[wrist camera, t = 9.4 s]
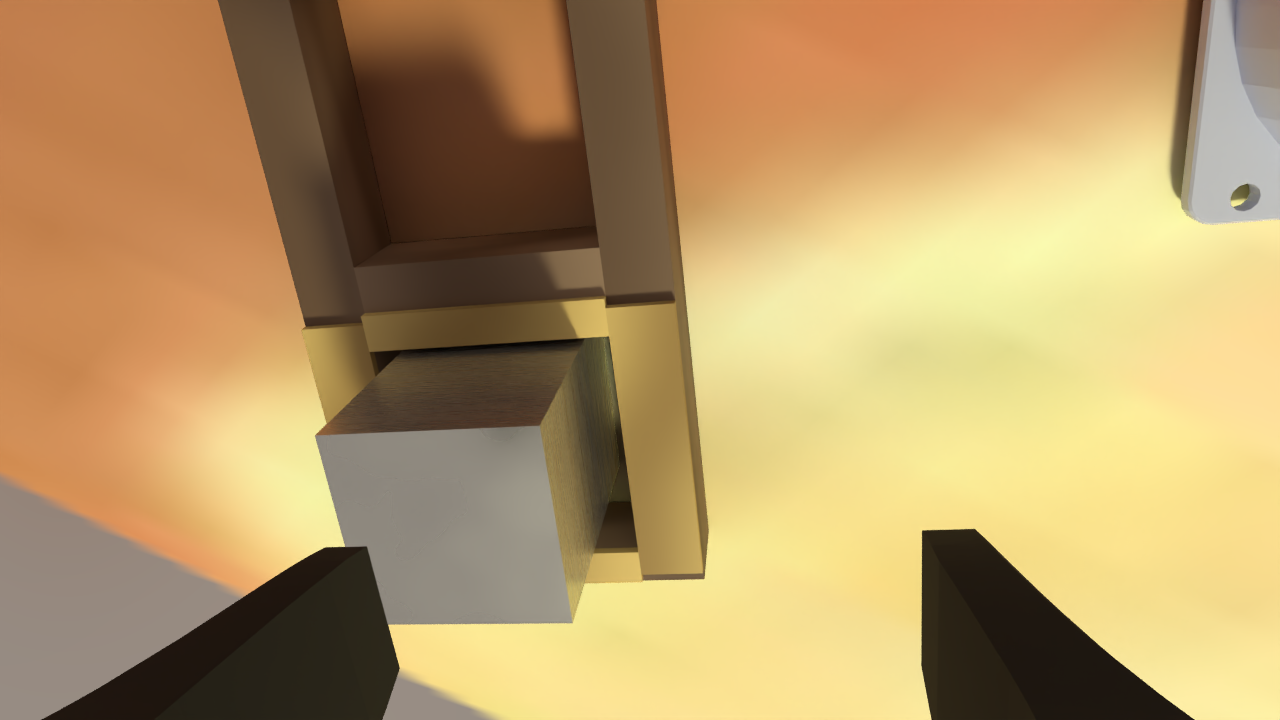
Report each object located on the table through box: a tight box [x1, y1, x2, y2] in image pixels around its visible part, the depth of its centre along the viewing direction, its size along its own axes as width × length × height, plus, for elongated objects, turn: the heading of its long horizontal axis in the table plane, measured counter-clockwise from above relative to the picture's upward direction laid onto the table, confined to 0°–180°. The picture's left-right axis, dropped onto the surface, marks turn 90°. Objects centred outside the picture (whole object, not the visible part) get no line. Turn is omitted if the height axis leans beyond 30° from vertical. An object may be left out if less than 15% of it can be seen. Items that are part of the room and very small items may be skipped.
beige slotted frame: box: [218, 0, 709, 583], centre depth 17 cm, size 8×21×2 cm, turn 7°
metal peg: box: [315, 337, 620, 624], centre depth 18 cm, size 4×4×6 cm
